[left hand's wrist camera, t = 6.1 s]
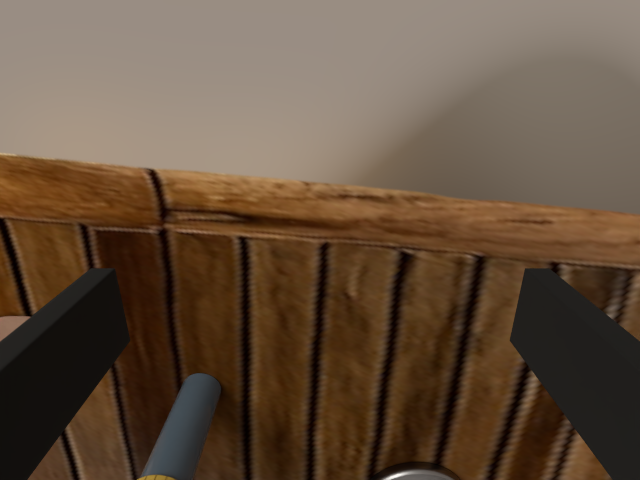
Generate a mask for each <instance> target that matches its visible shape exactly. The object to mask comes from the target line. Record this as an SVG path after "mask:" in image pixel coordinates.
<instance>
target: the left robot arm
mask: <svg viewBox="0 0 640 480" xmlns="http://www.w3.org/2000/svg"><path fill="white" fill-rule="evenodd" d="M129 341H130V337H129V333H128V328H127V323H126V318H125V314H124V309H123V304H122V300H121V295H120V290H119V286H118V281H117V276H116V272H115V269H90V270H88V271H87V272H86V273H85V274H83V275H82V276H81V277H80V278H79V279H77V280H76V281H75V282H74V283H72V284H71V285H70V286H69V287H67V288H66V289H65V290H64V291H62V292H61V293H60V294H59V295H57V296H56V297H55V298H54V299H52V300H51V301H50V302H49V303H47V304H46V305H45V306H44V307H42V308H41V309H40V310H39V311H38V312H36V313H35V314H34V315H33V316H31V317H30V318H29V319H28V320H26V321H25V322H24V323H23V324H21V325H20V326H19V327H18V328H16V329H15V330H14V331H13V332H11V333H10V334H9V335H8V336H6V337H5V338H4V339H3V340H2V341H0V480H27V479H28V478H29V477H30V475H31V474H32V473H33V471H34V470H35V468H36V467H37V466H38V464H39V463H40V462H41V460H42V459H43V458H44V456H45V455H46V454H47V452H48V451H49V450H50V448H51V447H52V445H53V444H54V443H55V441H56V440H57V439H58V437H59V436H60V435H61V433H62V432H63V431H64V429H65V428H66V427H67V425H68V424H69V423H70V421H71V420H72V418H73V417H74V416H75V414H76V413H77V412H78V410H79V409H80V408H81V406H82V405H83V404H84V402H85V401H86V400H87V398H88V397H89V395H90V394H91V393H92V391H93V390H94V389H95V387H96V386H97V385H98V383H99V382H100V381H101V379H102V378H103V377H104V375H105V374H106V373H107V371H108V370H109V368H110V367H111V366H112V364H113V363H114V362H115V360H116V359H117V358H118V356H119V355H120V354H121V352H122V351H123V350H124V348H125V347H126V346H127V344H128V343H129ZM510 341H511V343H512V344H513V346H514V347H515V348H516V350H517V351H518V352H519V354H520V355H521V356H522V358H523V359H524V360H525V362H526V363H527V364H528V366H529V367H530V368H531V370H532V371H533V373H534V374H535V375H536V377H537V378H538V379H539V381H540V382H541V383H542V385H543V386H544V387H545V389H546V390H547V391H548V393H549V394H550V396H551V397H552V398H553V400H554V401H555V402H556V404H557V405H558V406H559V408H560V409H561V410H562V412H563V413H564V414H565V416H566V417H567V418H568V420H569V421H570V423H571V424H572V425H573V427H574V428H575V429H576V431H577V432H578V433H579V435H580V436H581V437H582V439H583V440H584V441H585V443H586V444H587V445H588V447H589V448H590V450H591V451H592V452H593V454H594V455H595V456H596V458H597V459H598V460H599V462H600V463H601V464H602V466H603V467H604V468H605V470H606V471H607V473H608V474H609V475H610V477H611V478H612V479H613V480H640V341H638V340H637V339H636V338H635V337H634V336H632V335H631V334H630V333H629V332H627V331H626V330H625V329H624V328H622V327H621V326H620V325H619V324H617V323H616V322H615V321H614V320H612V319H611V318H610V317H609V316H607V315H606V314H605V313H604V312H602V311H601V310H600V309H599V308H598V307H596V306H595V305H594V304H593V303H591V302H590V301H589V300H588V299H586V298H585V297H584V296H583V295H581V294H580V293H579V292H578V291H576V290H575V289H574V288H573V287H571V286H570V285H569V284H568V283H566V282H565V281H564V280H563V279H561V278H560V277H559V276H558V275H557V274H555V273H554V272H553V271H552V270H550V269H525V272H524V276H523V281H522V286H521V290H520V295H519V300H518V304H517V309H516V314H515V318H514V323H513V328H512V333H511V337H510ZM370 480H460V479H459V478H458V477H457V476H456V475H455V474H454V473H452V472H451V471H450V470H448V469H446V468H444V467H441V466H439V465H435V464H431V463H423V462H410V463H403V464H398V465H395V466H392V467H389V468H387V469H384V470H382V471H381V472H379V473H377V474H376V475H375V476H373V477H372V478H371V479H370Z"/></svg>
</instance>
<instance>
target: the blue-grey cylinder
mask: <svg viewBox="0 0 640 480" xmlns="http://www.w3.org/2000/svg"><path fill="white" fill-rule="evenodd" d="M220 395H221V386H220V384H219V382H218V381H217V380H216V379H215V378H214V377H212V376H210V375H207V374H203V373H197V374H193V375H190V376H189V377H187V378H186V379H185V381H184V382H183V385H182V387H181V389H180V391H179V393H178V396H177V398H176V400H175V402H174V404H173V406H172V409H171V411H170V413H169V415H168V417H167V420H166V422H165V424H164V426H163V428H162V431H161V433H160V435H159V437H158V439H157V441H156V444H155V446H154V448H153V450H152V452H151V455H150V457H149V459H148V461H147V463H146V465H145V468H144V470H143V472H142V474H141V476H140V478H141V477H144V476H148V475H164V476H168V477H172V478H174V479H176V480H193V479H194V476H195V473H196V470H197V467H198V464H199V460H200V457H201V454H202V451H203V448H204V445H205V442H206V439H207V435H208V432H209V429H210V426H211V423H212V420H213V417H214V414H215V411H216V407H217V404H218V401H219V398H220Z"/></svg>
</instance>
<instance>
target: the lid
mask: <svg viewBox="0 0 640 480" xmlns="http://www.w3.org/2000/svg"><path fill="white" fill-rule="evenodd" d="M137 480H176V479H174V478H172V477H168V476H164V475H148V476H144V477H141V478H139V479H137Z"/></svg>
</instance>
